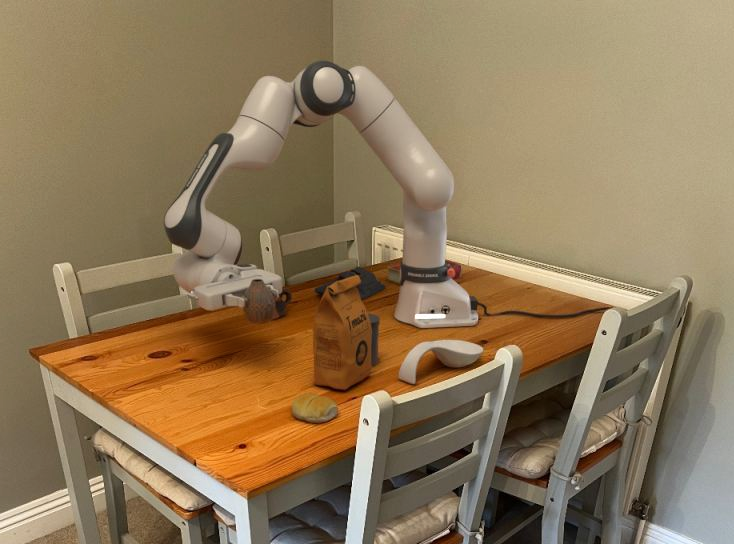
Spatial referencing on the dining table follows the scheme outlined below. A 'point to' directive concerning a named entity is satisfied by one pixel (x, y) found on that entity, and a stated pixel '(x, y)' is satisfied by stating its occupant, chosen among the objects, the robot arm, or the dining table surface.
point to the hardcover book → (395, 271)
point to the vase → (259, 302)
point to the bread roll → (314, 408)
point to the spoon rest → (440, 356)
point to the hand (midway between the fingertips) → (261, 299)
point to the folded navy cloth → (365, 288)
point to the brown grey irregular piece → (282, 303)
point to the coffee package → (341, 336)
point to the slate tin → (374, 337)
